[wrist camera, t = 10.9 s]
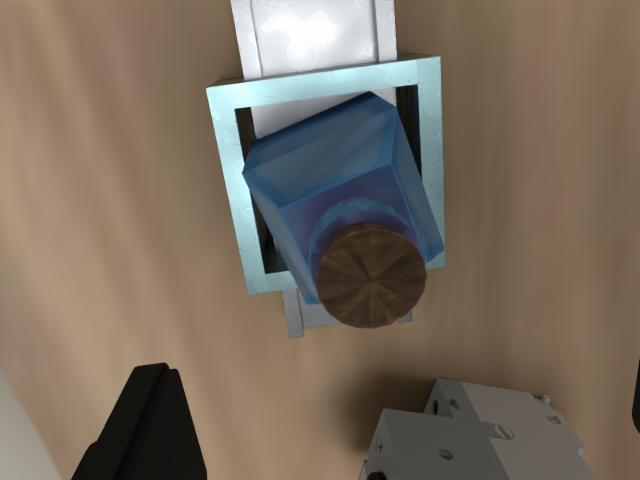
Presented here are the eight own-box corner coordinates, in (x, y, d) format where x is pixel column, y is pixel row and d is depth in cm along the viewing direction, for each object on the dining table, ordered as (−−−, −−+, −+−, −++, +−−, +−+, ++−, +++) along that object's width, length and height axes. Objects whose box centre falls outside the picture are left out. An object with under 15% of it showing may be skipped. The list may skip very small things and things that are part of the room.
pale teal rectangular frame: (413, -38, 23) (437, -53, 19) (427, 297, 30) (447, 334, 26) (200, -9, 23) (184, -19, 19) (265, 320, 30) (261, 360, 26)
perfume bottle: (369, 90, 23) (443, 135, 12) (410, 203, 26) (502, 326, 15) (252, 141, 24) (222, 228, 13) (302, 247, 26) (313, 398, 15)
